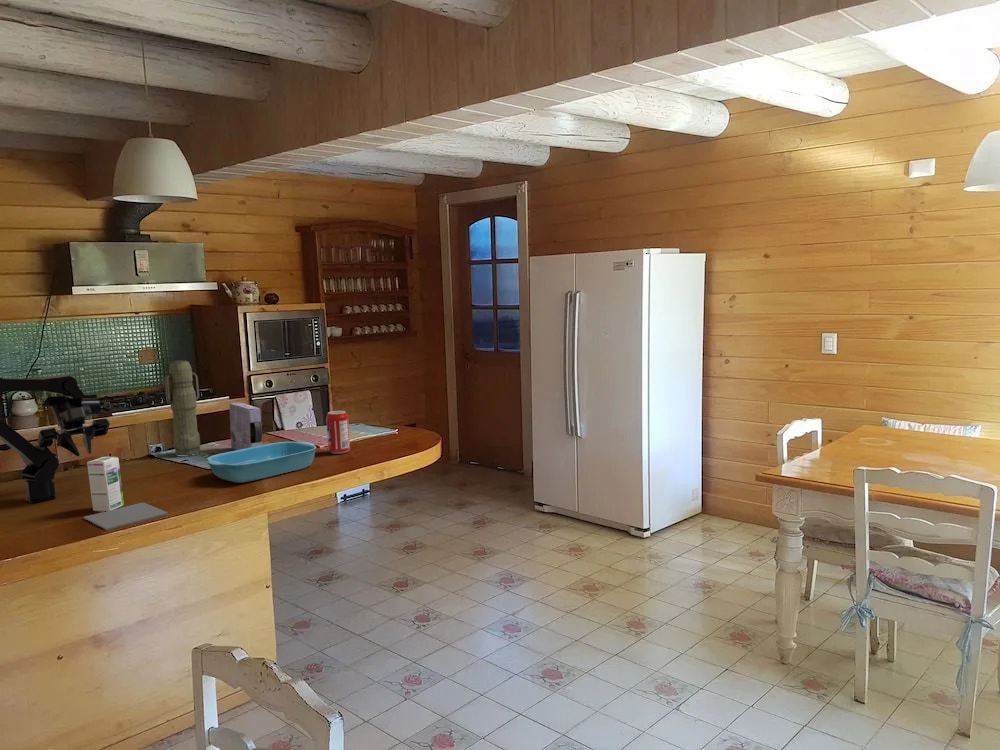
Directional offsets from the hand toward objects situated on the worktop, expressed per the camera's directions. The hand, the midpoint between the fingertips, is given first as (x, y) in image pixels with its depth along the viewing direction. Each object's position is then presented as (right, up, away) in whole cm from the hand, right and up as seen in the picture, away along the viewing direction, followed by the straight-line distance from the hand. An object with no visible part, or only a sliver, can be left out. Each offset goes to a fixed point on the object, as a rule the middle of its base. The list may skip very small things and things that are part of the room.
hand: (84, 454), depth 218 cm
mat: (+21, -15, -17) cm, 31 cm away
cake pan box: (+29, -5, +57) cm, 64 cm away
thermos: (+7, -6, +56) cm, 57 cm away
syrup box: (+12, -15, -9) cm, 21 cm away
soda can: (+65, -5, +50) cm, 82 cm away
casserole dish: (+45, -9, +27) cm, 53 cm away
